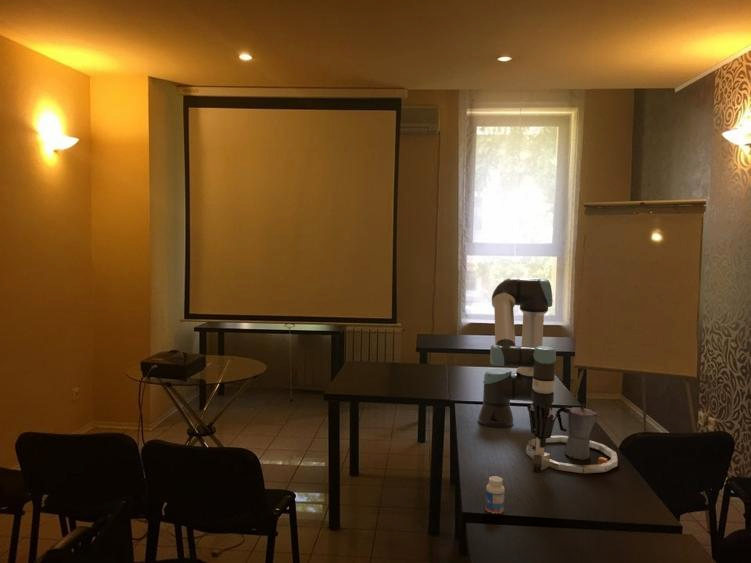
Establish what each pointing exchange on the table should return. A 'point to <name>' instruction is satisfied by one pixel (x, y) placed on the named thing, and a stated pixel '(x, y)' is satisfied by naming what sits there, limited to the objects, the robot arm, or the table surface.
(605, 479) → the table surface
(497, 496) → the pill bottle
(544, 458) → the indicator ring
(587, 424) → the moka pot
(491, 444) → the table surface
